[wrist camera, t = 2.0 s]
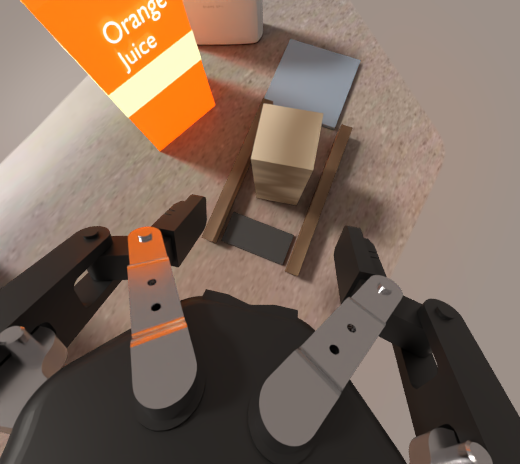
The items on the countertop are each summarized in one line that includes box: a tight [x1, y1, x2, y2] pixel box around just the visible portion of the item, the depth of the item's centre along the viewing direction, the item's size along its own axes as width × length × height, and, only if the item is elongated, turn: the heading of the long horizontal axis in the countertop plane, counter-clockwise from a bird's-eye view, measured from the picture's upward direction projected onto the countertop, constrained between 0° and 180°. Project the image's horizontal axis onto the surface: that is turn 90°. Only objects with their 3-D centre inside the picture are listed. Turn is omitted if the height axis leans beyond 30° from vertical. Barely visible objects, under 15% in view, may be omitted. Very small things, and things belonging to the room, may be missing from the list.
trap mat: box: [221, 212, 294, 265], centre depth 24 cm, size 7×3×1 cm, turn 68°
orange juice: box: [21, 0, 215, 151], centre depth 17 cm, size 8×9×20 cm
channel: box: [202, 98, 352, 276], centre depth 24 cm, size 10×17×2 cm, turn 158°
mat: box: [264, 39, 361, 130], centre depth 26 cm, size 9×10×1 cm
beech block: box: [251, 103, 324, 205], centre depth 20 cm, size 4×4×9 cm
